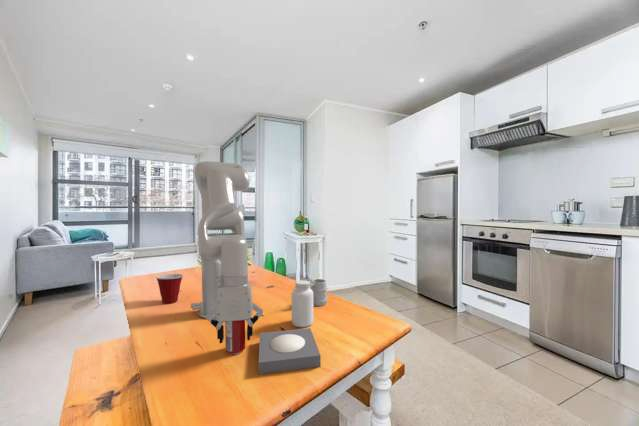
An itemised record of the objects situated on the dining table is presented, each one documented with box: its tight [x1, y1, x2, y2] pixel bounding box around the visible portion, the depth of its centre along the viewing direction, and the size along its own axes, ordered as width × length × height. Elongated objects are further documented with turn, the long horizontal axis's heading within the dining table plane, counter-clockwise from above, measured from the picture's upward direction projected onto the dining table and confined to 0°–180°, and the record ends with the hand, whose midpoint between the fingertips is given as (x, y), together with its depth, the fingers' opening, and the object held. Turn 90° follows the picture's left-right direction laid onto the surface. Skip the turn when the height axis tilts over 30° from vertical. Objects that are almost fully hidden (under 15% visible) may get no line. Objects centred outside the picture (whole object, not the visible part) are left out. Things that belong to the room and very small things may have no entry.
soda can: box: [224, 320, 246, 355], centre depth 78 cm, size 6×6×12 cm
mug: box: [306, 278, 329, 307], centre depth 114 cm, size 8×12×12 cm, turn 132°
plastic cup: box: [155, 273, 184, 305], centre depth 118 cm, size 11×11×12 cm
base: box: [258, 327, 322, 375], centre depth 76 cm, size 16×16×3 cm
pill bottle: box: [291, 279, 314, 328], centre depth 96 cm, size 8×8×15 cm
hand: (235, 339), depth 78 cm, fingers open, 7 cm apart
